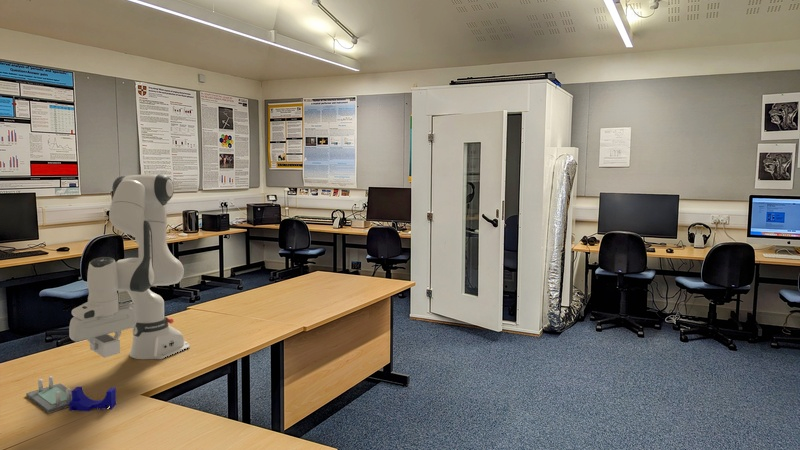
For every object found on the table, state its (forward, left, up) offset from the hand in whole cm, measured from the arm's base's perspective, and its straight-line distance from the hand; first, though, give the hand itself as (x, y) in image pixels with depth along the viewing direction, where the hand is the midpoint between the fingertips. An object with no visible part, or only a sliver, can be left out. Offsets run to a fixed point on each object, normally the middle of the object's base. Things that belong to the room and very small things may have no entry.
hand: (104, 346), depth 176 cm
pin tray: (+13, -6, -16) cm, 21 cm away
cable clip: (+8, +9, -16) cm, 20 cm away
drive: (0, 0, -2) cm, 2 cm away
